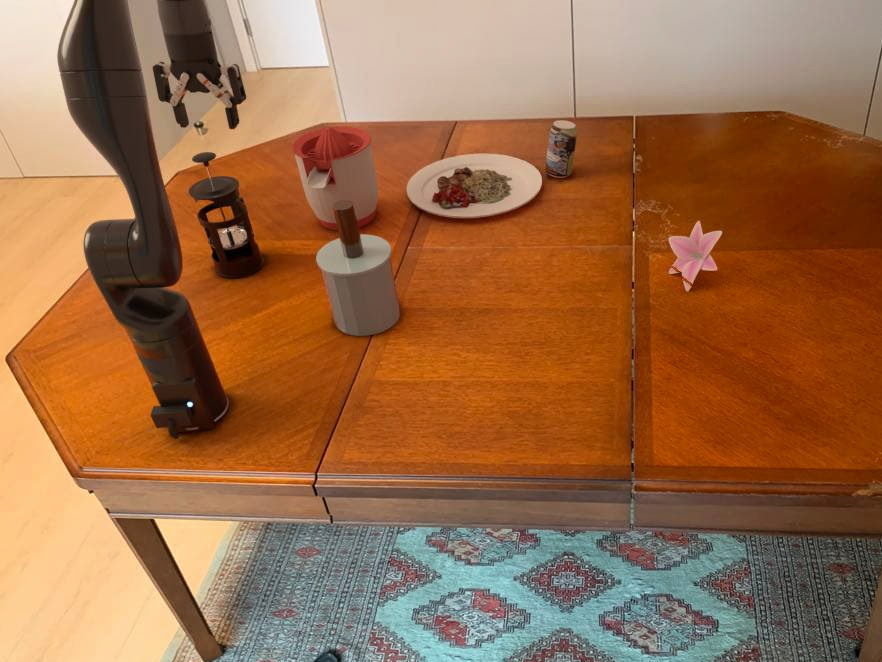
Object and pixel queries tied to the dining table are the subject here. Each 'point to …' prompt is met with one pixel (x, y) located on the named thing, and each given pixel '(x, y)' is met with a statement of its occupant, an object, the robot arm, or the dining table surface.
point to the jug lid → (352, 246)
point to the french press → (226, 224)
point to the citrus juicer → (337, 172)
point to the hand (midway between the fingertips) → (209, 127)
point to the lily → (693, 253)
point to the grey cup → (363, 301)
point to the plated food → (474, 185)
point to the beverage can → (561, 148)
